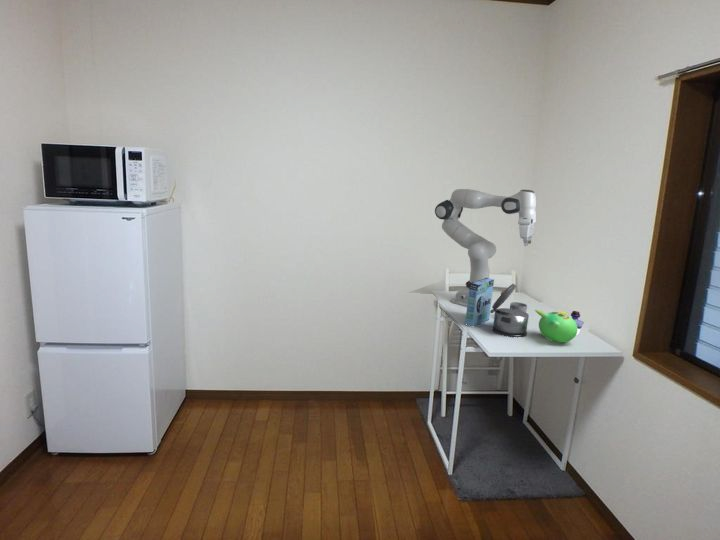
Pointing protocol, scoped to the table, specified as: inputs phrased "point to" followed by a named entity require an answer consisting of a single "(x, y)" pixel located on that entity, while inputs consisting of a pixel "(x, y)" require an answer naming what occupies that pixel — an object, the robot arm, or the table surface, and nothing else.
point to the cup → (518, 306)
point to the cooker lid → (503, 297)
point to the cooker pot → (510, 322)
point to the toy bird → (557, 326)
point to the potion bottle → (575, 317)
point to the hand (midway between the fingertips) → (527, 244)
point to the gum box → (479, 301)
